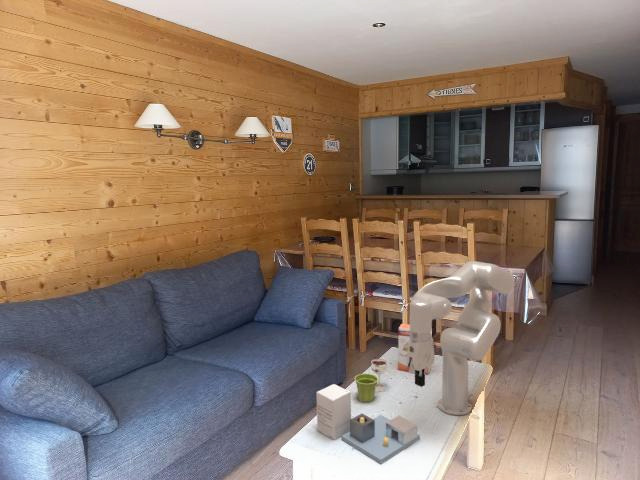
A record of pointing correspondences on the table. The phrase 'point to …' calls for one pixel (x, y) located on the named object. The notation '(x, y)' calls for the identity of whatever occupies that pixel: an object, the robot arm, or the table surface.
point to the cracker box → (404, 348)
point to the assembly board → (379, 442)
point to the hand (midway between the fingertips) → (419, 384)
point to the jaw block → (362, 428)
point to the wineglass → (379, 370)
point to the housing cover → (401, 429)
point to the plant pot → (366, 386)
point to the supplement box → (333, 411)
